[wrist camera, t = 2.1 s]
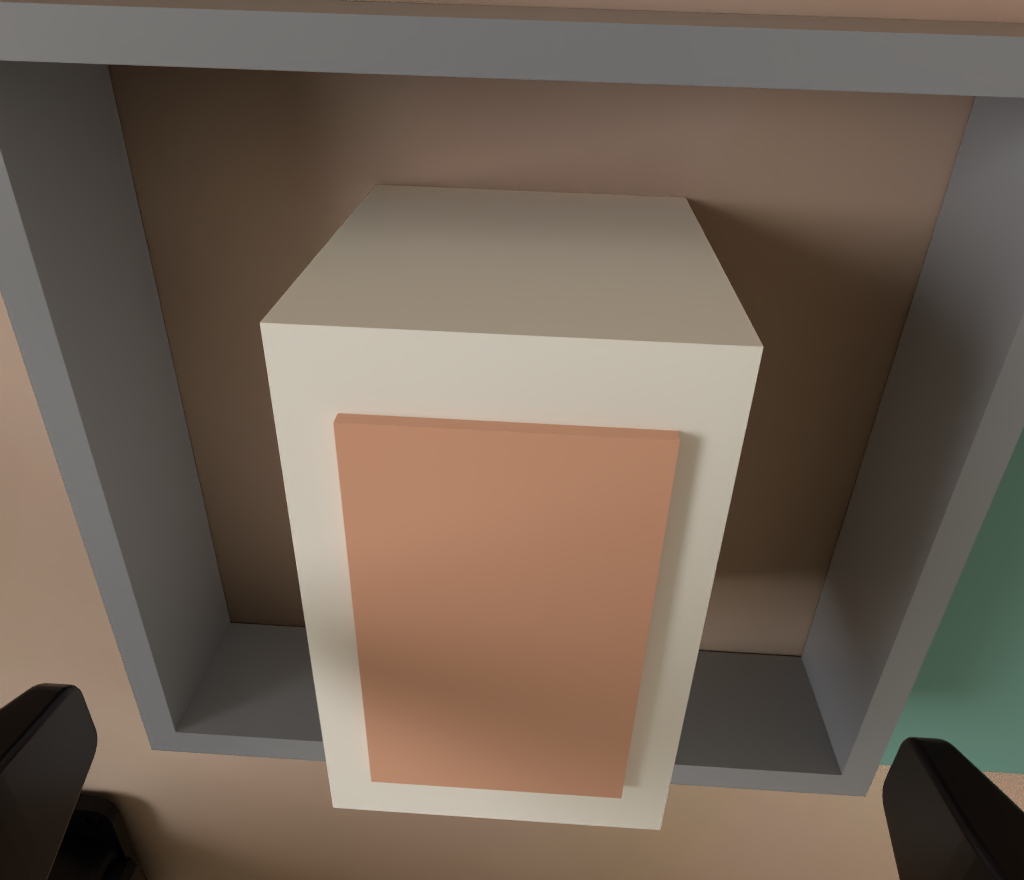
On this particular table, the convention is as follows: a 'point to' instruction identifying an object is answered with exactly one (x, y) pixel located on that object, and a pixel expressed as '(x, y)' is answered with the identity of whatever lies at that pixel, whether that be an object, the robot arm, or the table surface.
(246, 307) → the table surface
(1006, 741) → the rubber mat
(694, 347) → the box
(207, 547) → the bin
